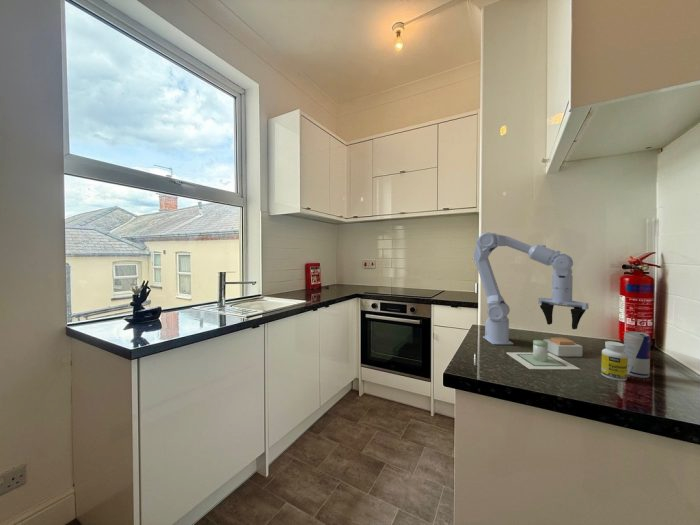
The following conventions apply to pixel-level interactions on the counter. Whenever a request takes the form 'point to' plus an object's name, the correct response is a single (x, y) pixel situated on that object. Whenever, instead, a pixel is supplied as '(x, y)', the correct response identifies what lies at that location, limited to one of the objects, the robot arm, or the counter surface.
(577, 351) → the button housing
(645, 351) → the energy drink
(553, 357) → the picture board
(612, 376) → the supplement bottle
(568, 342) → the button
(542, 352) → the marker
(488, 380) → the counter surface
